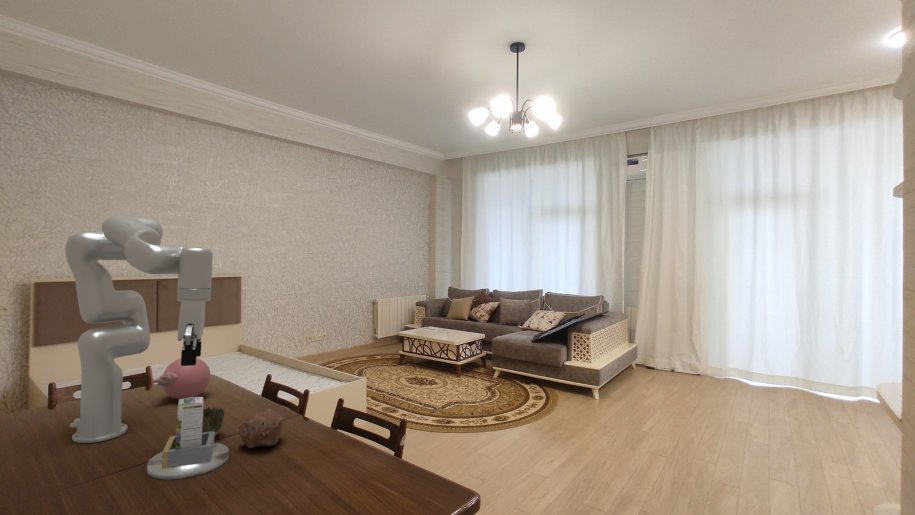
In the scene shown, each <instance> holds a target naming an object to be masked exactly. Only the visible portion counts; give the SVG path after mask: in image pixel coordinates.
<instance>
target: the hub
mask: <svg viewBox="0 0 915 515" xmlns="http://www.w3.org/2000/svg"><path fill="white" fill-rule="evenodd" d="M215 438H216V437H215V431H211V432H203V433H202V446H194V447H186V448H179V449H176V435H171V436H169V438H168V440H167V442H166V443H165V445H164V448H163V451H161V452H159V453H157V454H155V455H154V456H153V457H151V458H150V459H149V460H148V462H147V464H146V474H147V475H148V476H149V477H151V478H153V479H157V480H161V481H162V480H163V481H165V480H166V481H169V480H170V481H171V480H172V481H173V480H175V481H177V480H185V479H189V478H194V477H198V476H201V475H204V474H207V473H210V472H213V471H215V470H216V469H218V468H220V467H221V466H223V465H224V464H225V463H226V462H227V461H228V459H229V456H230V453H229V451H230V450H229V447H228V446H227V445H226V444H224V443H223V444H222V443H221V442H220V443H219V442H215Z"/></svg>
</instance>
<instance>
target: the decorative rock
mask: <svg viewBox="0 0 915 515" xmlns="http://www.w3.org/2000/svg"><path fill="white" fill-rule="evenodd" d="M283 422H284V418H283V417H282V416H281V415H280V414H279V413H278V412H276V411H275V410H273V409H270V408H269V409H267V410H265V409H263V410H260V411H258V412H256V411H255V412H253V413H252V414H251V415H246V417H245V418H244V419H243V420H242V422H241V423H240V424H239V426H238V430H237V431H238V432H237V433H238V434H239V437H240V440H241V441H242V442H243V443H245V446H246V447H247V448H248V449H254V448H255V447H257V448H258V447H262V446H263V447H274V446H275V445H277V444H278V442H279V440H280V436H281V433H282V432H281V431H282V426H283Z"/></svg>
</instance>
